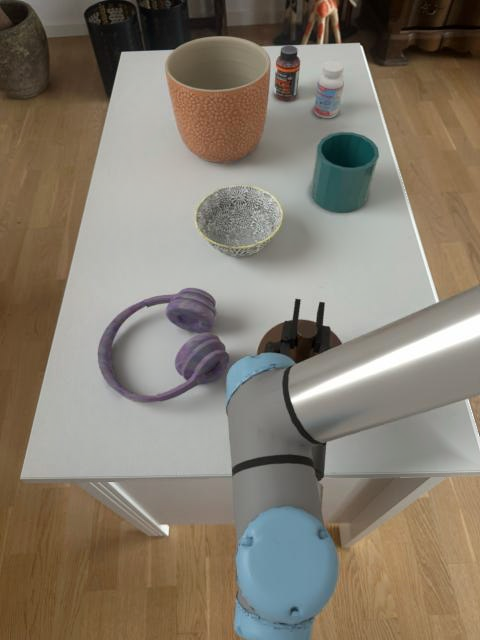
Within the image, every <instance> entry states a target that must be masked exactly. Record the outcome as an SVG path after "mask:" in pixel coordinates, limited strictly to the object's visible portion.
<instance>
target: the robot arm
mask: <svg viewBox="0 0 480 640" xmlns="http://www.w3.org/2000/svg"><path fill="white" fill-rule="evenodd" d="M301 302H302V299H300V298H295V299H294V306H293V311H292V312H293V314H292V319H291V320H292V321H289V320H284V321H283V322H284V323H283V329H282V336H281V340H280V341H279V342H276V343H274V342H268V343H267V344H266V347H265V350H264V353H261V354H260V355H258V356H257V355H252V354H251V355H247V356H245V357H242V358H241V359H238V360H237V361H235V362H234V363H233V364H232V366H230V367H229V370H228V371H227V373H226V381H225V382H226V385H225V386H226V387H225V388H226V389H225V390H226V391H225V394H226V395H225V396H226V397H225V399H226V401H225V413H226V416H227V425H228V438H229V449H230V450H229V451H230V463H231V484H232V499H233V516H234V528H235V529H234V531H235V545H236V551H235V558H234V559H235V567H236V576H235V578H236V582H237V585H238V589H237V591H236V595H235V599H234V600H235V601H234V602H235V603H234V604H235V611H234V619H233V628H234V631H235V633H236V635H237V636H238V637H239V638H241V639H244V640H312V635H313V626H314V622H315V621H316V617H317V616H318V615H319V614H320V613H321V612H322V611H323V610H324V608H325V607H326V606H327V605H328V603H329V602H330V600H331V599H332V597H333V595H334V593H335V591H336V587H337V585H338V581H339V574H340V573H339V572H340V562H339V555H338V550H337V547H336V544H335V542H334V540H333V537H332V536H331V535H330V533H329V531H328V529H327V528H326V527H325V521H324V516H323V510H322V508H323V494H324V485H323V484H322V483H321V481H322V479H324V477H325V467H326V455H327V444H328V443H329V442H332V441H334V440H338V439H341V438H345V437H348V436H351V435H354V434H358V433H361V432H364V431H368V430H370V429H374V428H377V427H380V426H384V425H387V424H390V423H393V422H397V421H401V420H403V419H407V418H409V417H413V416H416V415H420V414H422V413H427V412H430V411H433V410H436V409H439V408H442V407H447V406H449V405H452V404H456V403H459V402H462V401H466V400H469V399H472V398H475V397H478V396H480V283H479V284H477V285H474V286H472V287H469V288H467V289H464V290H462V291H461V292H458V293H456V294H453V295H451V296H449V297H447V298H445V299H441V300H439V301H437V302H435V303H433V304H431V305H429V306H426V307H423V308H421V309H419V310H417V311H415V312H413V313H410V314H408V315H405V316H402V317H400V318H399V319H396V320H394V321H392V322H389V323H387V324H385V325H383V326H380V327H378V328H375V329H374V330H371V331H369V332H366V333H365V334H362V335H359V336H357V337H355V338H353V339H351V340H350V339H349V340H348V341H346V342H344V343H343V342H342V344H341V345H339V346H337V347H334V348H332V349H331V348H330V334H331V331H332V329H331V327H330V326H329V325H324V319H325V318H324V317H325V308H326V307H325V306H326V302H325V301H319V302H318V306H317V310H316V311H317V312H316V319H315V322H316V327H317V335H316V339H315V343H314V347H313V352H315V353H319V354H318V355H316V356H314V357H311V358H309V359H307V360H304V361H302V362H300V363H298V364H295V362H294V361H293V360H292V359H291V358H290V349H294V347H295V341H296V332H297V326H298V319H300V309H301ZM323 325H324V326H323Z"/></svg>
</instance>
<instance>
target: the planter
mask: <svg viewBox="0 0 480 640" xmlns="http://www.w3.org/2000/svg"><path fill="white" fill-rule="evenodd" d="M271 63H272V62H271V58H270V55H269V53H268V52H267V50H266V49H264V48H263V47H262V46H260V45H259V44H257V43H256V42H253V41H251V40H248V39H246V38H240V37H235V36H229V35H228V36H227V35H226V36H225V35H223V36H221V35H217V36H216V35H215V36H214V35H213V36H207V37H200V38H196V39H193V40H190V41H187V42H185V43H183V44H181V45H179V46H178V47H176V48H175V49H174V50H172V51H171V52H170V53H169V54H168V56H167V58H166V59H165V62H164V69H165V70H164V71H165V77H166V78H165V79H166V83H167V89H168V93H169V99H170V104H171V107H172V112H173V116H174V120H175V123H176V127H177V130H178V134H179V136H180V138H181V140H182V142H183V144H184V145H185V147H186V148H187V149H188V150H189V152H190V153H192V154H193V155H195V156H196V157H198V158H200V159H202V160H205V161H208V162H210V163H221V164H222V163H232V162H235V161H238V160H241V159H242V158H244V157H246V156H248V155H250V153H252V151H254V150H255V149H256V147H257V146H258V145H259V143H260V142H261V140H262V136H263V135H264V130H265V125H266V120H267V113H268V107H269V106H268V105H269V96H270V95H269V94H270V83H271V67H272V66H271Z"/></svg>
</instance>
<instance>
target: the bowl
mask: <svg viewBox="0 0 480 640" xmlns="http://www.w3.org/2000/svg"><path fill="white" fill-rule="evenodd" d="M283 221H284V211H283V207H282V205H281V203H280V201H279V200H278V199H277V198H276V197H275V196H274V195H273V194H272V193H270V192H268V191H267V190H265V189H263V188H260V187H257V186H254V185H249V184H231V185H226V186H222V187H220V188H217V189H214V190H213V191H211V192H209V193H208V194H207V195H205V196H204V197H203V198H202V199H201V200H200V201H199V203H198V204H197V205H196V209H195V212H194V223H195V226H196V229H197V230H198V232H199V233H200V235H201V236H202V237H203V238H204V239H205V240H206V241H207V242H208V243H209V245H210V246H212V248H214V249H215V250H216V251H218V252H220V253H222V254H223V255H226V256H230V257H236V258H237V257H248V256H251V255H254V254H257V253H258V252H260V251H262V250H263V249H264V248H265V247H266V246H268V244H269V243H270V242H271V240H272V239H273V238H274V236H275V235H276V233H277V232H278V231H279V230H280V228H281V226H282V223H283Z"/></svg>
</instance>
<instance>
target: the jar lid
mask: <svg viewBox="0 0 480 640" xmlns="http://www.w3.org/2000/svg"><path fill="white" fill-rule="evenodd" d="M292 320H293V319H289V320H288V321H292ZM284 322H285V321H282V322H280V323H277V324H276V325H274V326H273V327H271V328H270V329H268V330H267V331H266V333H265V334H264V335H263V337H262V338H261V339H260V342H259V344H258V347H257V351H256V356H258V355H260V354H261V353H264V350H265V347H266V344H267V343H268V342H274V343H276V342H279V341H280V340H281V336H282V329H283V323H284ZM323 326H325V325H324V324H323ZM316 335H317V327H316V321H314V320H309V319H302V318H301V319H300V318H298V326H297V332H296V341H295V347H294V349H290V358H291V359H292V360H293V361H294V362H295V364H298V363H300V362H302V361H304V360H307V359H309V358H311V357H314V356H316V355H318V354H319V353H315V352H313V347H314V343H315V339H316ZM341 344H343V342H342V341H341V339H340V338H339V337H338V335H337V333H334V331H333V330H331V334H330V348H331V349H332V348H334V347H337V346H339V345H341Z"/></svg>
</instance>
